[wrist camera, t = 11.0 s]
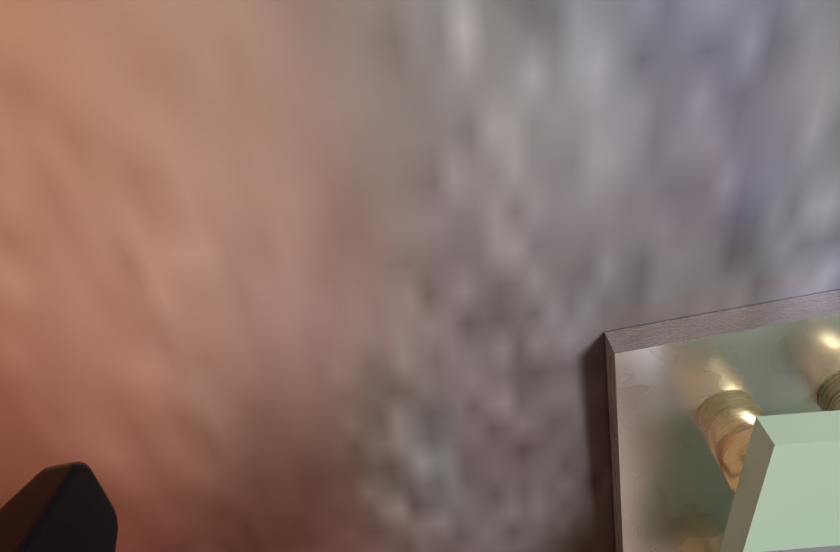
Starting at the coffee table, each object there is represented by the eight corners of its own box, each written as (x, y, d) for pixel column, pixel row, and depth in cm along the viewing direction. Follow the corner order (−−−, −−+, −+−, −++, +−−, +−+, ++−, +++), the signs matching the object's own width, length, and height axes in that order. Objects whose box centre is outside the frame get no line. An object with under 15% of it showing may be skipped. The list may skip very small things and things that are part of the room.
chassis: (879, 575, 29) (939, 663, 26) (619, 619, 29) (649, 711, 26) (955, 268, 21) (1050, 343, 19) (604, 332, 22) (644, 415, 19)
